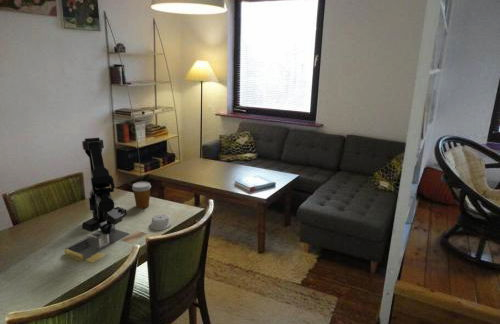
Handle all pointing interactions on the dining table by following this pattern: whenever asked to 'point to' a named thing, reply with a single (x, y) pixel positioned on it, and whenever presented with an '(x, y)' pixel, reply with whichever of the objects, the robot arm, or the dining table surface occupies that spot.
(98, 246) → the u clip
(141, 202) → the disposable coffee cup
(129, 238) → the board
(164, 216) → the mechanical component
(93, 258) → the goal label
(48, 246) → the dining table surface
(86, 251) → the shallow tray
